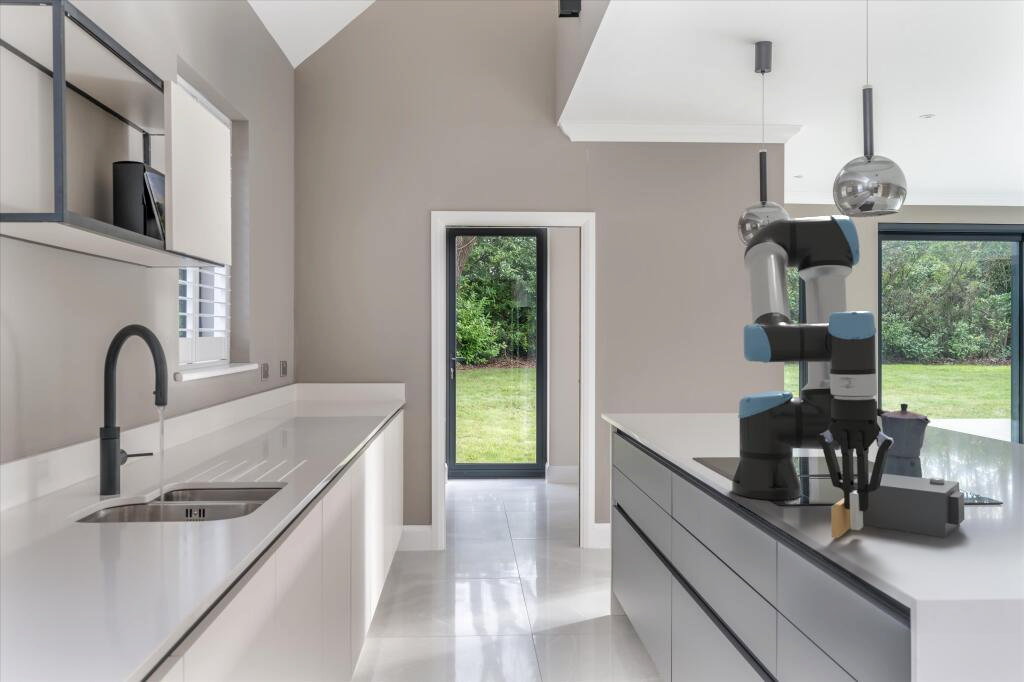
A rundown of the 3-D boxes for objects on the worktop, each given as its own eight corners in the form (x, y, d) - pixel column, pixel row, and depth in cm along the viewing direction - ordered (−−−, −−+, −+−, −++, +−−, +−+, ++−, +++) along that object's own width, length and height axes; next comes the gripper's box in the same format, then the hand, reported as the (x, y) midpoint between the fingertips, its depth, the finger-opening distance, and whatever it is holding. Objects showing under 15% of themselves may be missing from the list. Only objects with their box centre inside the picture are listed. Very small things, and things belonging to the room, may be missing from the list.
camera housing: (850, 522, 138) (850, 477, 138) (869, 510, 147) (869, 468, 147) (955, 539, 127) (955, 489, 127) (969, 525, 136) (968, 478, 135)
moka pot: (918, 496, 159) (917, 406, 159) (856, 484, 173) (855, 401, 172) (944, 491, 163) (943, 404, 163) (882, 479, 177) (881, 399, 177)
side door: (852, 522, 138) (852, 489, 138) (858, 523, 137) (858, 490, 137) (831, 539, 127) (831, 503, 127) (837, 540, 127) (837, 504, 126)
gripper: (809, 397, 130) (812, 527, 130) (887, 400, 121) (890, 539, 121) (823, 394, 135) (826, 518, 136) (898, 396, 127) (902, 529, 127)
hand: (856, 527), depth 128 cm, fingers closed
